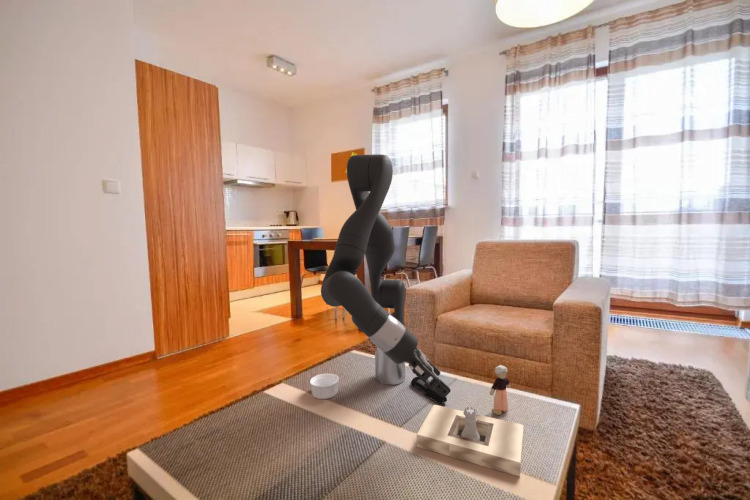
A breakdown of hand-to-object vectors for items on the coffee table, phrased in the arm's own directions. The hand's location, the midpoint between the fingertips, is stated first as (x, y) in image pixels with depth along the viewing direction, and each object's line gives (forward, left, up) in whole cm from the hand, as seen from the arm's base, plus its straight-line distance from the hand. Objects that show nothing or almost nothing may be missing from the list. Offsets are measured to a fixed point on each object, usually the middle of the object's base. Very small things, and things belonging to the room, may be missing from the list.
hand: (442, 383), depth 78 cm
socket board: (+6, +3, -14) cm, 16 cm away
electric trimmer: (-10, +21, -15) cm, 28 cm away
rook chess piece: (+6, +3, -15) cm, 16 cm away
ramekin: (-39, +8, -15) cm, 43 cm away
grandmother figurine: (+11, +20, -15) cm, 27 cm away
